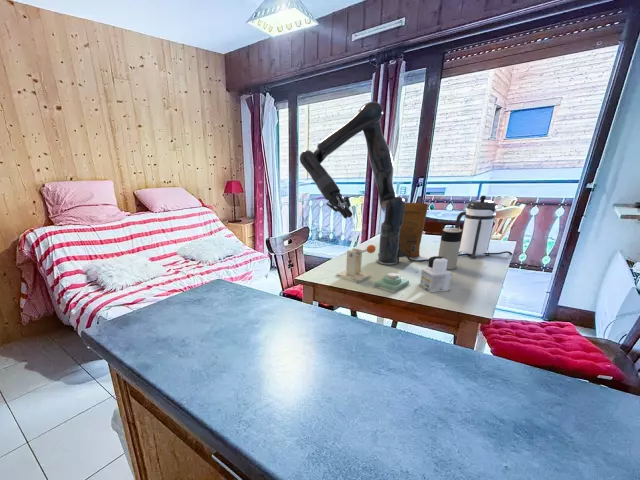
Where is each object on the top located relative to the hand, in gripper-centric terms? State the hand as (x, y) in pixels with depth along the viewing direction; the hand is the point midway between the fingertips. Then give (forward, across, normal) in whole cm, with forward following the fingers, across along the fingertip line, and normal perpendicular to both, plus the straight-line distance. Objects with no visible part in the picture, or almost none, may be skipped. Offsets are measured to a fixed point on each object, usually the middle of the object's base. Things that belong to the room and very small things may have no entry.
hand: (348, 216), depth 143 cm
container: (+45, +11, -6) cm, 46 cm away
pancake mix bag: (+22, +46, +17) cm, 53 cm away
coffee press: (+39, +67, 0) cm, 78 cm away
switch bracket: (+22, 0, +17) cm, 28 cm away
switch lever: (+18, 0, +5) cm, 18 cm away
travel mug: (+39, +40, 0) cm, 56 cm away
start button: (+32, +1, +1) cm, 33 cm away
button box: (+35, +1, +4) cm, 35 cm away
